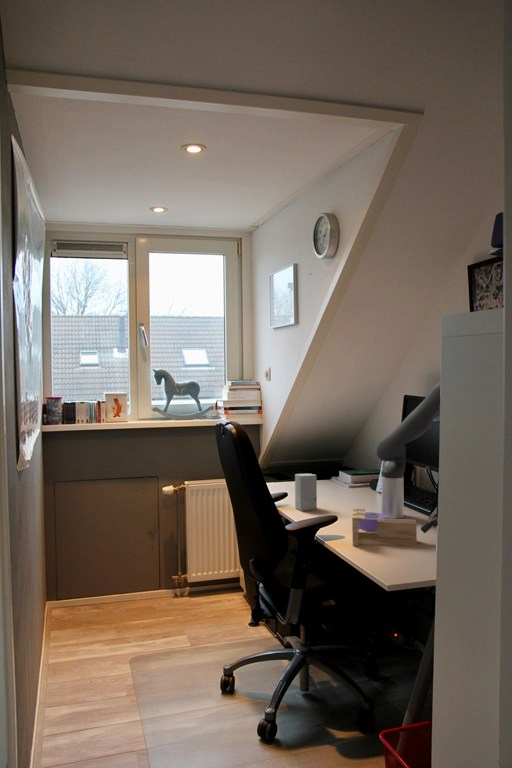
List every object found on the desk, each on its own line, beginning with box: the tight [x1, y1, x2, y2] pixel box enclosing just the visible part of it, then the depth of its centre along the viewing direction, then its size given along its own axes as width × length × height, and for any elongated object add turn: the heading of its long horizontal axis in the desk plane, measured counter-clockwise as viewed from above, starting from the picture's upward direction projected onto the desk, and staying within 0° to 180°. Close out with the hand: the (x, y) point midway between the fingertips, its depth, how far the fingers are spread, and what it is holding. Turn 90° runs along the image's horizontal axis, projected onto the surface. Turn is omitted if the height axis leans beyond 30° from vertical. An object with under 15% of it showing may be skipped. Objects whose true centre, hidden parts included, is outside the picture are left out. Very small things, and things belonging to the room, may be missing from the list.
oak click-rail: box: [351, 508, 413, 547], centre depth 235 cm, size 14×21×10 cm, turn 80°
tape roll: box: [359, 511, 387, 532], centre depth 254 cm, size 12×12×5 cm
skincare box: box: [294, 473, 318, 512], centre depth 286 cm, size 8×7×16 cm
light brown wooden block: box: [376, 518, 418, 545], centre depth 234 cm, size 5×14×8 cm, turn 79°
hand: (422, 530), depth 232 cm, fingers closed
